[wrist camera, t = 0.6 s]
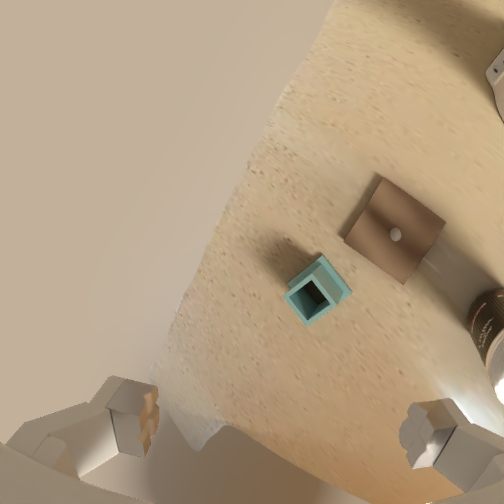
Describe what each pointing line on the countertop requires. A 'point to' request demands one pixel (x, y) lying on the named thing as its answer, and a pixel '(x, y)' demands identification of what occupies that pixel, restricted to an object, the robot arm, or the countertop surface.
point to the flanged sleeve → (326, 283)
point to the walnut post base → (390, 216)
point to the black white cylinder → (489, 335)
